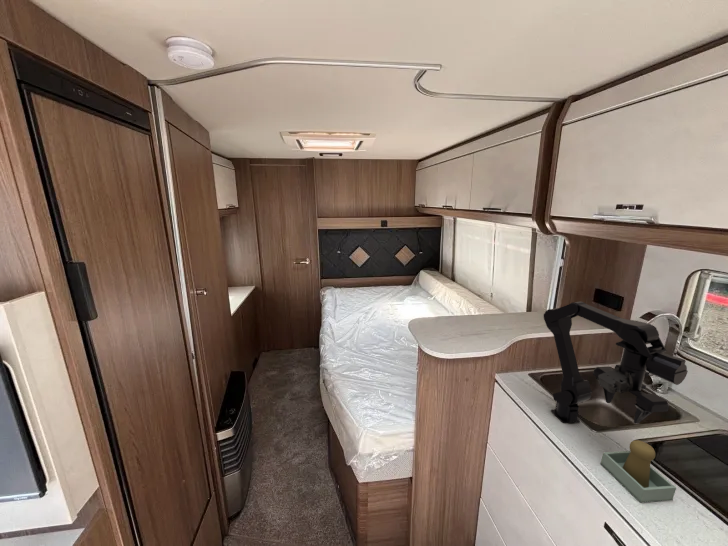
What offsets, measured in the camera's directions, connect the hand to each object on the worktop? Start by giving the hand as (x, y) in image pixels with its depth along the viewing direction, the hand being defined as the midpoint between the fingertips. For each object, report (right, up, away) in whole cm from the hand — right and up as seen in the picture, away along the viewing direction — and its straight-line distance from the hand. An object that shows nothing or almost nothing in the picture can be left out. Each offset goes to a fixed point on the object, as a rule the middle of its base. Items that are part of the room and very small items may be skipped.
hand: (621, 412), depth 93 cm
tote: (-3, -15, -8) cm, 17 cm away
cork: (-3, -15, -8) cm, 17 cm away
